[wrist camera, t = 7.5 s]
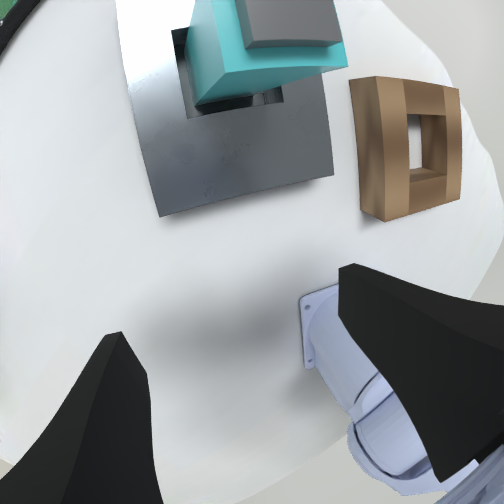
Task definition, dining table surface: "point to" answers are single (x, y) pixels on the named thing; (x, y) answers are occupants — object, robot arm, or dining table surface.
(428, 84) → the tan square ring
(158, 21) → the port block
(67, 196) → the dining table surface
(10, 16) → the disk drive
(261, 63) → the plug
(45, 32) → the dining table surface
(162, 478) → the dining table surface
